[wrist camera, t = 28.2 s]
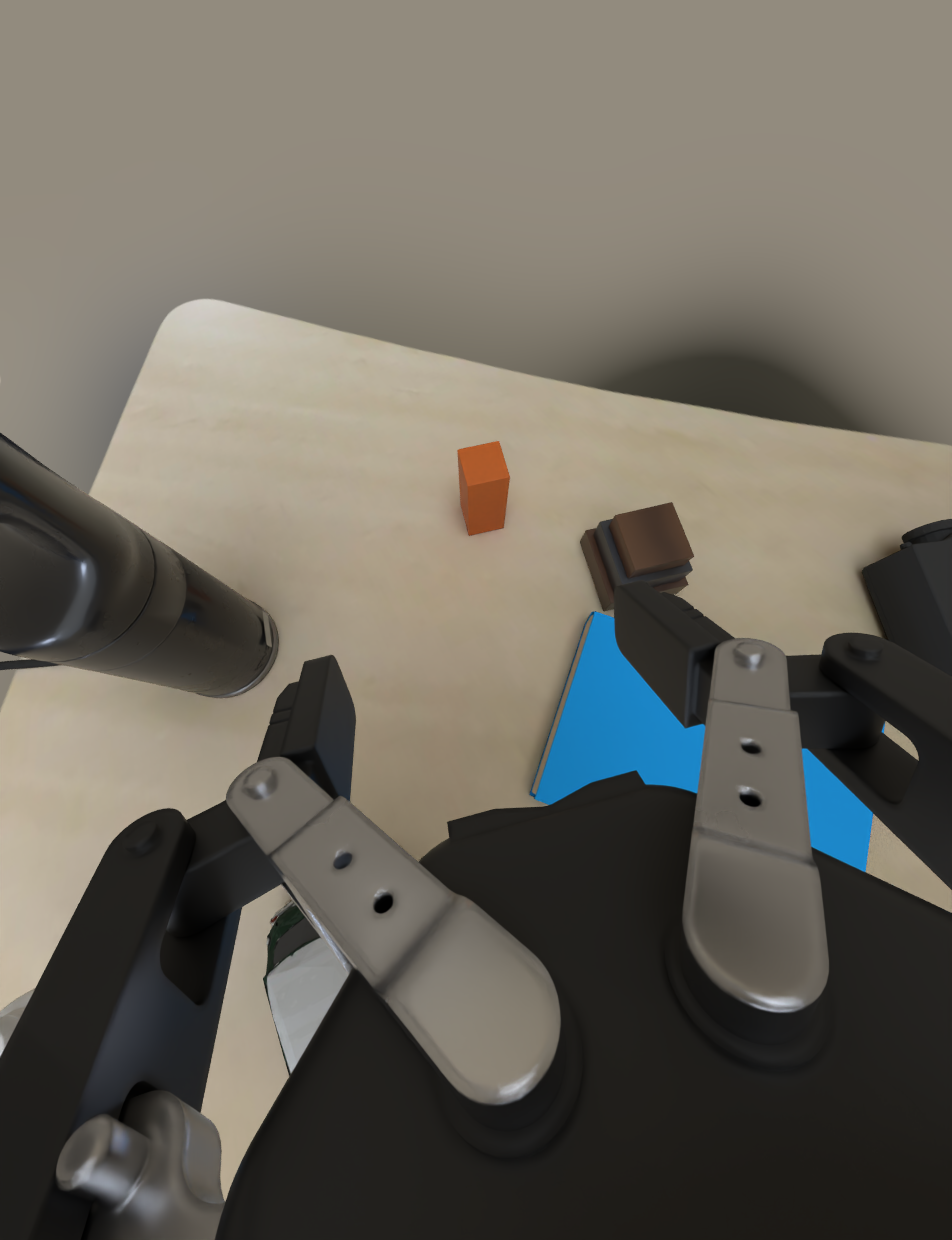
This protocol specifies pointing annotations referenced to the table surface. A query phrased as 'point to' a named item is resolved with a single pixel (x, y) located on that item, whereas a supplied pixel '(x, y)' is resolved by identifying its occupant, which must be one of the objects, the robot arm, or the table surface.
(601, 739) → the book
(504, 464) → the bar
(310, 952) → the miniature car
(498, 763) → the table surface
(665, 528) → the brown stepped pyramid
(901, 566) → the projector
